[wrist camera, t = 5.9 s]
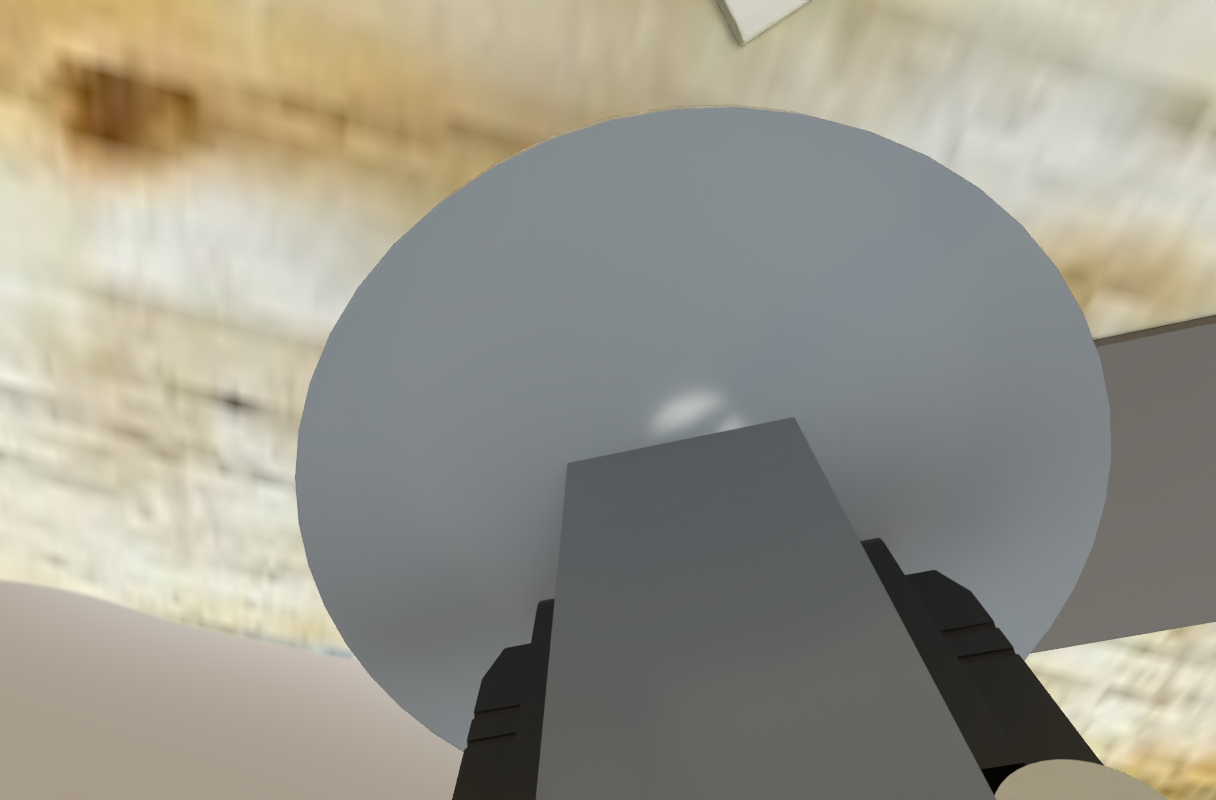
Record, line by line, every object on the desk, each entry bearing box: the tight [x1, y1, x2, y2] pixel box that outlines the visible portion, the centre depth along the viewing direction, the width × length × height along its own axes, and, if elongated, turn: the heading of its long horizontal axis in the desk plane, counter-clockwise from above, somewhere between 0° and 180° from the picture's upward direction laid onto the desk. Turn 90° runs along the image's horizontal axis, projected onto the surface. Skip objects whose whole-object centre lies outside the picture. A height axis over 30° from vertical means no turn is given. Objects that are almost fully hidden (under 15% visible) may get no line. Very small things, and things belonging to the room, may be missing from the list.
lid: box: [295, 105, 1111, 800], centre depth 8 cm, size 11×11×7 cm
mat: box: [1030, 316, 1216, 653], centre depth 27 cm, size 12×12×1 cm
